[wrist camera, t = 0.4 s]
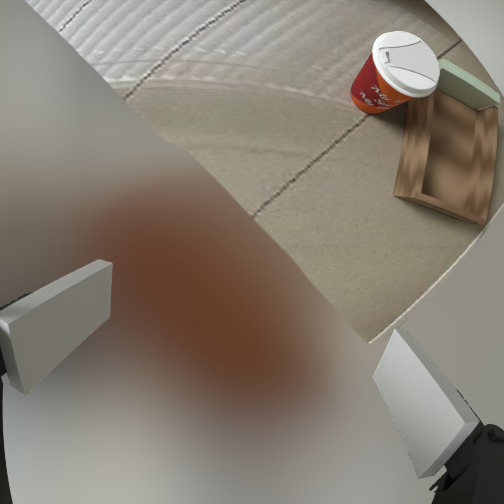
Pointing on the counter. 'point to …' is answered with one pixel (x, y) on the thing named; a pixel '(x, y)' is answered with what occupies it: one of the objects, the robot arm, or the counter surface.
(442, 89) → the book
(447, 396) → the robot arm
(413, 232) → the counter surface
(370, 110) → the paper cup
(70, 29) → the counter surface
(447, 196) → the crate
